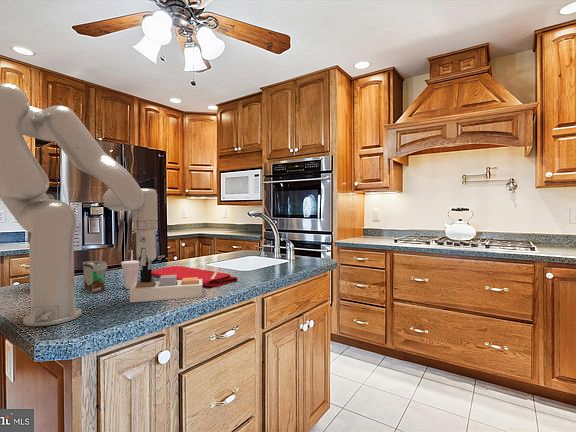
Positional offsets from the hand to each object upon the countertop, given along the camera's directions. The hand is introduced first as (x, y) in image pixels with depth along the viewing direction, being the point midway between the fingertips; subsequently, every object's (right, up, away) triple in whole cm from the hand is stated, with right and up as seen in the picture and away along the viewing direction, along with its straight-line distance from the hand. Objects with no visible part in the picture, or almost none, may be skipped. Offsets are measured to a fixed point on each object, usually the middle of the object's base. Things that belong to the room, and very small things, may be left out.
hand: (146, 281), depth 107 cm
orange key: (+13, -3, +4) cm, 14 cm away
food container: (-22, -5, +10) cm, 25 cm away
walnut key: (0, -3, 0) cm, 3 cm away
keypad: (+7, -5, +2) cm, 9 cm away
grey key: (+7, -2, +2) cm, 7 cm away
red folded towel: (+6, -5, +30) cm, 31 cm away
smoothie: (-12, -5, +13) cm, 18 cm away
